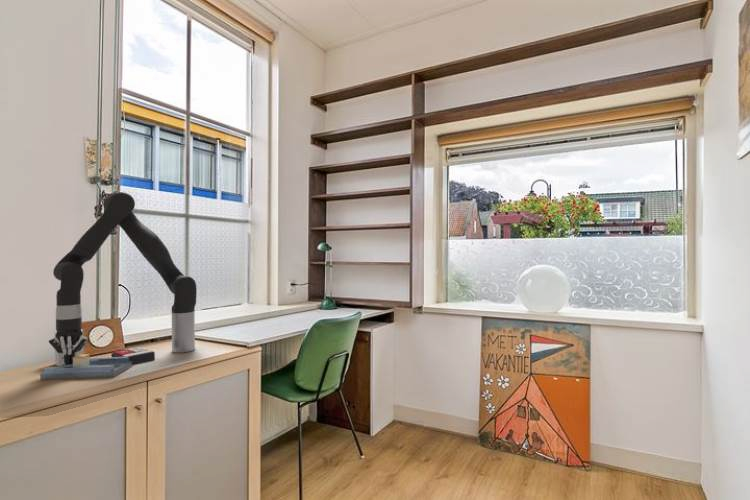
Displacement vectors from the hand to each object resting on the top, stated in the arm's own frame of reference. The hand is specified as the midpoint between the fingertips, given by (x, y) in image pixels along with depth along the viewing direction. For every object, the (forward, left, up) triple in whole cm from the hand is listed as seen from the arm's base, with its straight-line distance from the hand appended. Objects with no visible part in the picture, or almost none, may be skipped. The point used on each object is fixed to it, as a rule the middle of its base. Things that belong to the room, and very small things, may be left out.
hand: (69, 364), depth 145 cm
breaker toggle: (0, +4, -1) cm, 4 cm away
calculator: (-16, +14, -4) cm, 22 cm away
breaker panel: (0, +7, -3) cm, 8 cm away
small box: (-14, -8, -4) cm, 16 cm away
